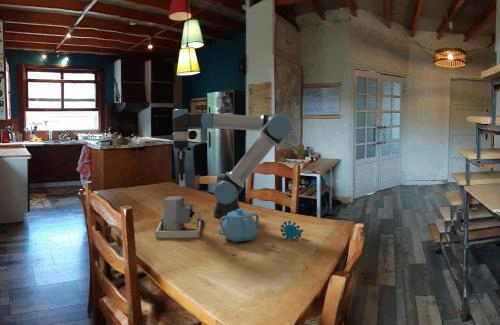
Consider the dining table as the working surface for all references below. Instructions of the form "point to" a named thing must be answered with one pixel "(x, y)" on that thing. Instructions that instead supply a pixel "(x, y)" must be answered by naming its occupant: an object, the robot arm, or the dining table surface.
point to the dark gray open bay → (197, 218)
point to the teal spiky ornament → (291, 230)
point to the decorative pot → (239, 226)
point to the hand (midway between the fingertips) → (182, 186)
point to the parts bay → (177, 233)
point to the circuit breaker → (176, 213)
